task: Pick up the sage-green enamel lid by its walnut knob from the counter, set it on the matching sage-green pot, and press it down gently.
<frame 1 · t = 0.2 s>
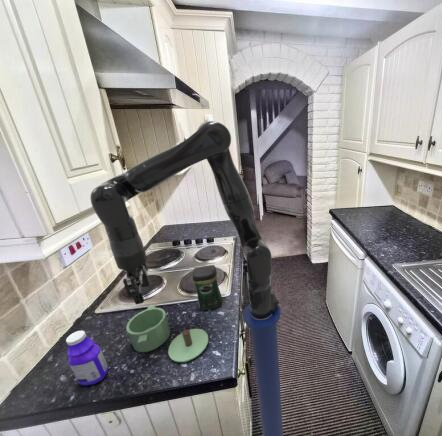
hand: (143, 294, 73), 22 cm above the worktop, tool pointing down, fingers open, 8 cm apart
lid: (189, 344, 80), point 1 cm above the worktop
coffee jar: (210, 304, 100), on the worktop
pot: (152, 337, 84), on the worktop
bottle: (96, 377, 71), on the worktop
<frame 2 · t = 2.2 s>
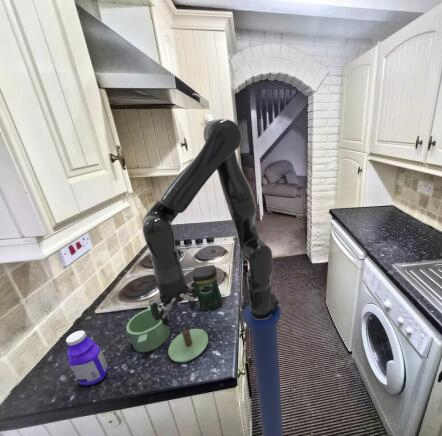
hand: (180, 316, 76), 13 cm above the worktop, tool pointing down, fingers open, 8 cm apart
nothing on the worktop moved.
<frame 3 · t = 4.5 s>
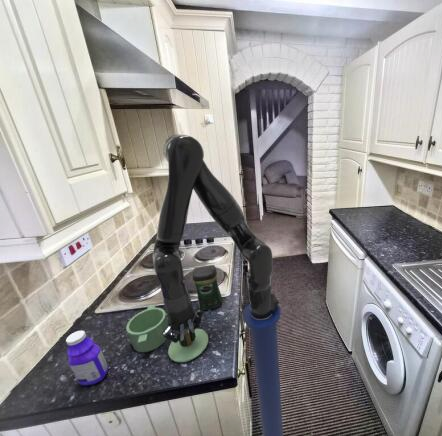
hand: (188, 342, 80), 2 cm above the worktop, tool pointing down, fingers closed on lid, 2 cm apart
lid: (189, 344, 80), point 1 cm above the worktop, touching gripper
everything else where it was.
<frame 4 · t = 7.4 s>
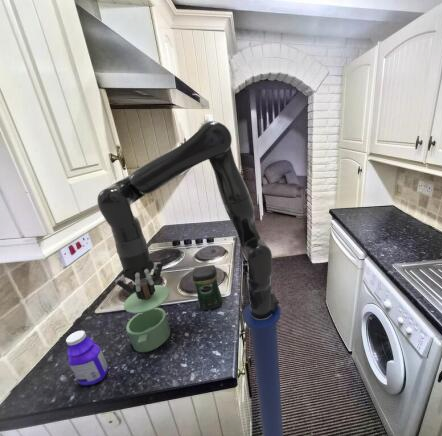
hand: (147, 295, 76), 20 cm above the worktop, tool pointing down, fingers closed on lid, 2 cm apart
lid: (147, 298, 76), point 19 cm above the worktop, touching gripper
everything else where it was.
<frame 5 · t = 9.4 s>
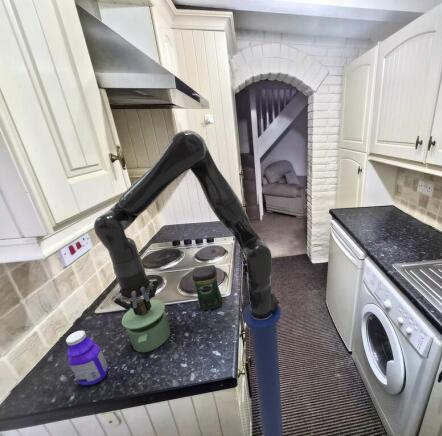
hand: (143, 311, 80), 12 cm above the worktop, tool pointing down, fingers closed on lid, 2 cm apart
lid: (144, 314, 80), point 11 cm above the worktop, touching gripper
everything else where it was.
when the fingers open (10 cm above the worktop, at t = 10.4 s): lid stays where it is, resting on pot.
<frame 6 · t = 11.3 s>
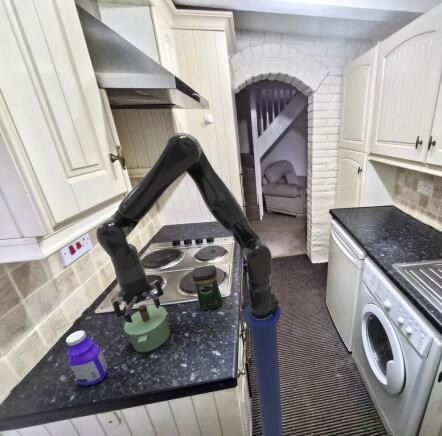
hand: (144, 314, 80), 11 cm above the worktop, tool pointing down, fingers open, 8 cm apart
lid: (146, 320, 81), point 8 cm above the worktop, touching pot
everything else where it was.
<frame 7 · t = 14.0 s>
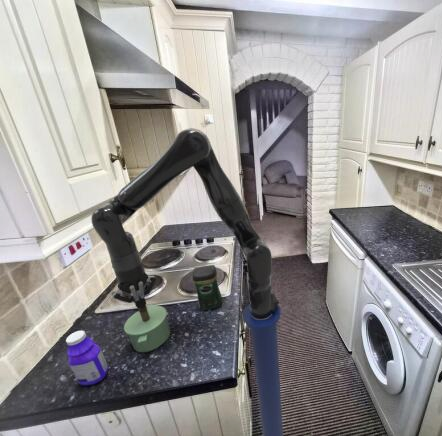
hand: (142, 306, 79), 14 cm above the worktop, tool pointing down, fingers closed
lid: (146, 320, 81), point 8 cm above the worktop, touching gripper, pot
everything else where it was.
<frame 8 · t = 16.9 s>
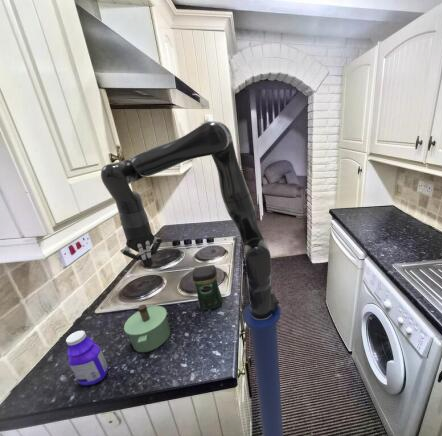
hand: (148, 266, 83), 25 cm above the worktop, tool pointing down, fingers closed
lid: (146, 320, 81), point 8 cm above the worktop, touching pot
everything else where it was.
at the end: lid 0.0 cm off-centre on the pot, point 8.4 cm above the pot's base; lid tilted 0°; the gripper is holding nothing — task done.
